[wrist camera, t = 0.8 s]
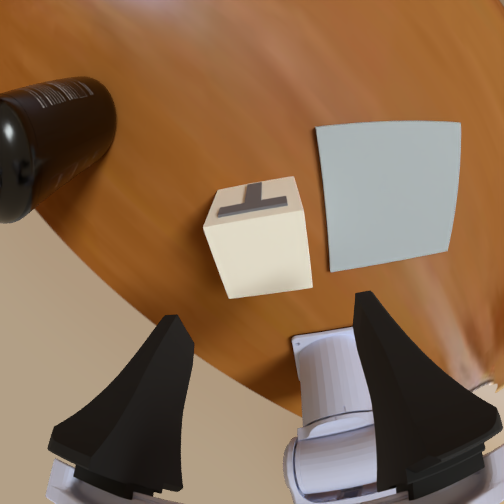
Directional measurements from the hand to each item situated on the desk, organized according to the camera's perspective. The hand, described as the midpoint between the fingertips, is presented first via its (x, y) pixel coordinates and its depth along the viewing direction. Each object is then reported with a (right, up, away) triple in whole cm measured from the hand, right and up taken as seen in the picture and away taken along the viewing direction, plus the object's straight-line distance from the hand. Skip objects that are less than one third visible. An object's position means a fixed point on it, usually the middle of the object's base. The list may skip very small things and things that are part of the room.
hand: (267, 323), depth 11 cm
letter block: (0, +5, +8) cm, 10 cm away
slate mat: (+10, +7, +6) cm, 13 cm away
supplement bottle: (-13, +12, +4) cm, 18 cm away
